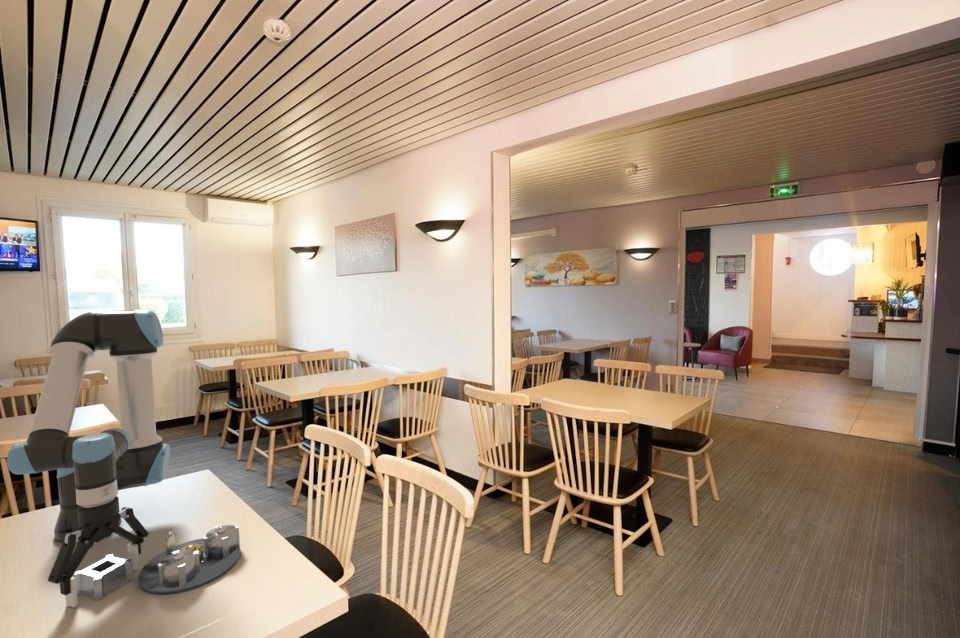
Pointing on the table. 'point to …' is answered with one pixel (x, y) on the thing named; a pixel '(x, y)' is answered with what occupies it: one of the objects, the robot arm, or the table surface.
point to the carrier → (191, 562)
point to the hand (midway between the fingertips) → (104, 586)
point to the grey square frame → (104, 576)
